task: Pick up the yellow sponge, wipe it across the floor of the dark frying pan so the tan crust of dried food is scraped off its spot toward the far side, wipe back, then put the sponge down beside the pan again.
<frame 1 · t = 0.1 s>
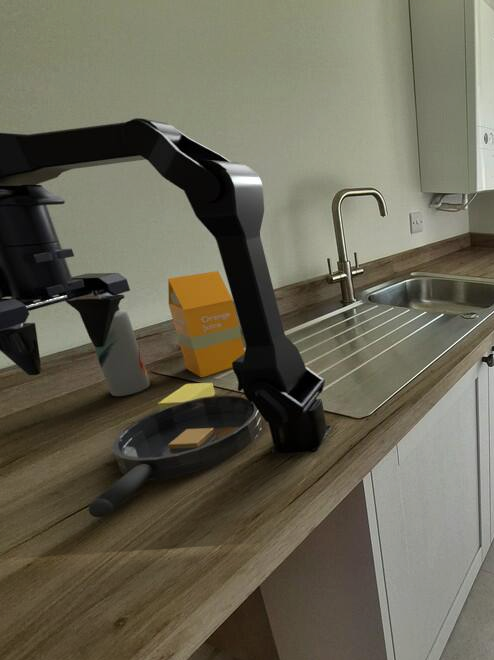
hand: (69, 359, 55), 15 cm above the table, tool pointing down, fingers open, 9 cm apart
sponge: (190, 407, 72), on the table
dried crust: (192, 440, 61), resting on pan
pan: (197, 443, 62), on the table
orange juice: (217, 366, 88), on the table
lotion bottle: (131, 390, 78), on the table
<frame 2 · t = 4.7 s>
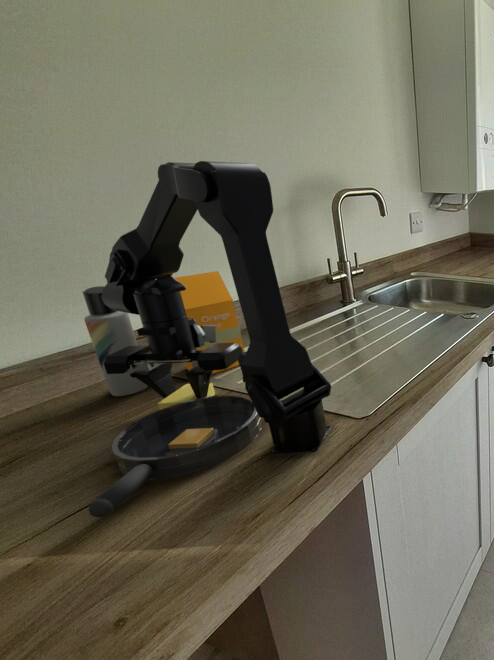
hand: (189, 402, 71), 1 cm above the table, tool pointing down, fingers closed on sponge, 4 cm apart
sponge: (190, 407, 72), on the table, touching gripper
everything else where it was.
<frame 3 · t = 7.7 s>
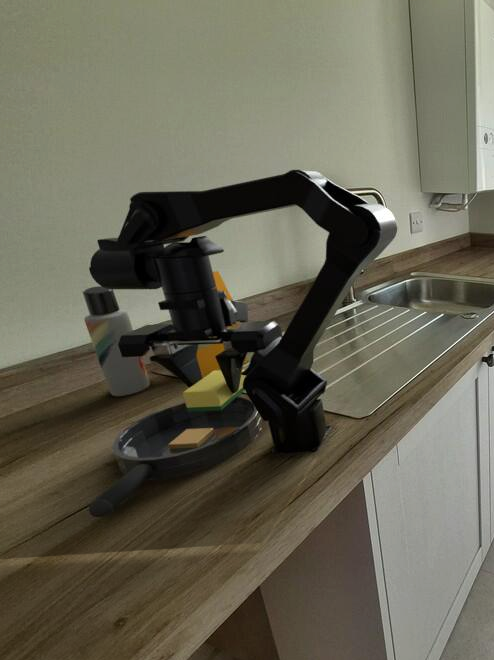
hand: (218, 392, 60), 8 cm above the table, tool pointing down, fingers closed on sponge, 4 cm apart
sponge: (220, 398, 60), point 7 cm above the table, touching gripper
everything else where it was.
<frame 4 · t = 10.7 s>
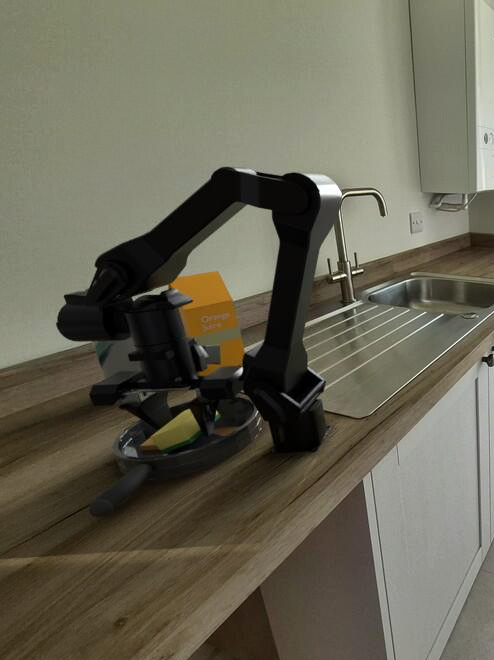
hand: (190, 435, 61), 1 cm above the table, tool pointing down, fingers closed on sponge, 5 cm apart
sponge: (193, 434, 61), point 2 cm above the table, tilted 20°, touching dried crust, gripper
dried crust: (165, 441, 61), resting on pan, touching gripper, sponge
everything else where it was.
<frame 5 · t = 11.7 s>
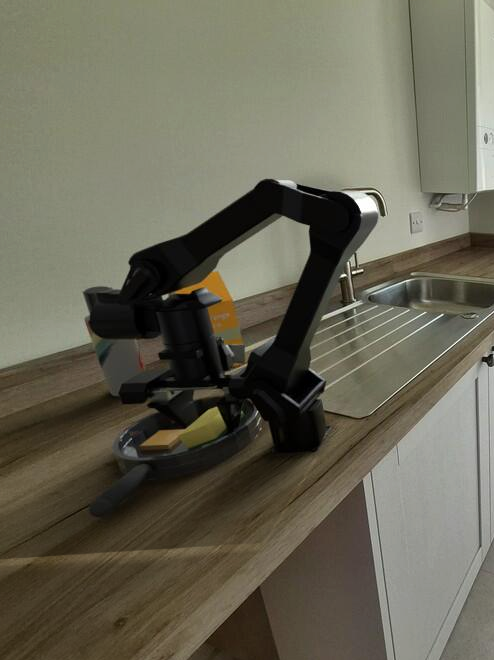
hand: (216, 434, 61), 1 cm above the table, tool pointing down, fingers closed on sponge, 5 cm apart
sponge: (218, 432, 61), point 2 cm above the table, tilted 20°, touching gripper
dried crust: (165, 441, 61), resting on pan
everything else where it was.
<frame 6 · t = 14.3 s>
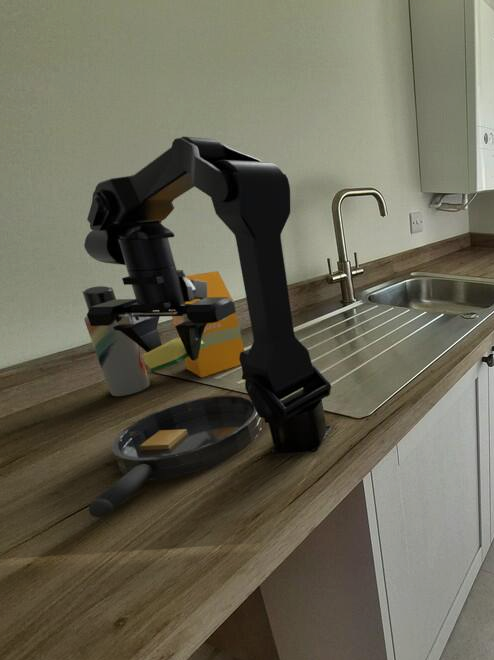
hand: (178, 360, 68), 9 cm above the table, tool pointing down, fingers closed on sponge, 5 cm apart
sponge: (180, 358, 68), point 10 cm above the table, tilted 19°, touching gripper
everything else where it was.
when the fingers open (0 cm above the table, at t = 16.9 s): sponge stays where it is, on the table.
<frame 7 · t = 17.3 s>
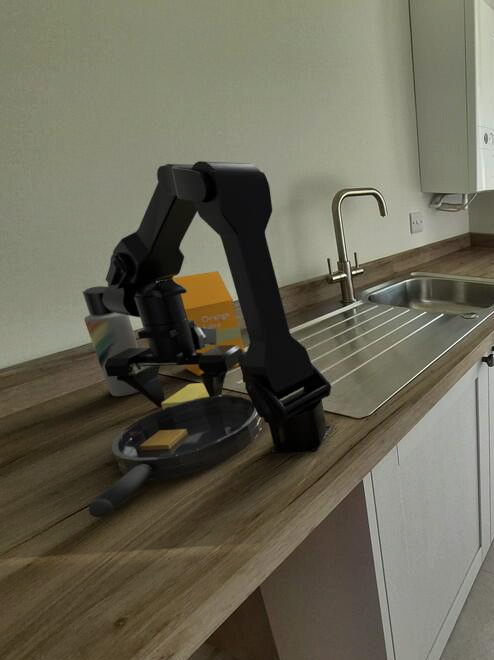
hand: (189, 404, 71), 1 cm above the table, tool pointing down, fingers open, 9 cm apart
sponge: (193, 407, 72), on the table
everything else where it was.
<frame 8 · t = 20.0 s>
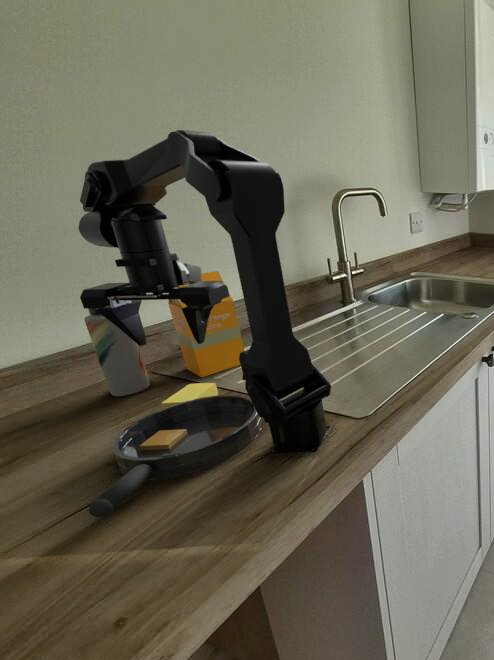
hand: (172, 344, 68), 12 cm above the table, tool pointing down, fingers open, 9 cm apart
nothing on the table moved.
at the end: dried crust moved 4.0 cm from its start; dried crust inside the target area in the pan (0.8 cm from its centre), point 0.5 cm above the pan's base; sponge 0.6 cm from the target spot, on the table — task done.
